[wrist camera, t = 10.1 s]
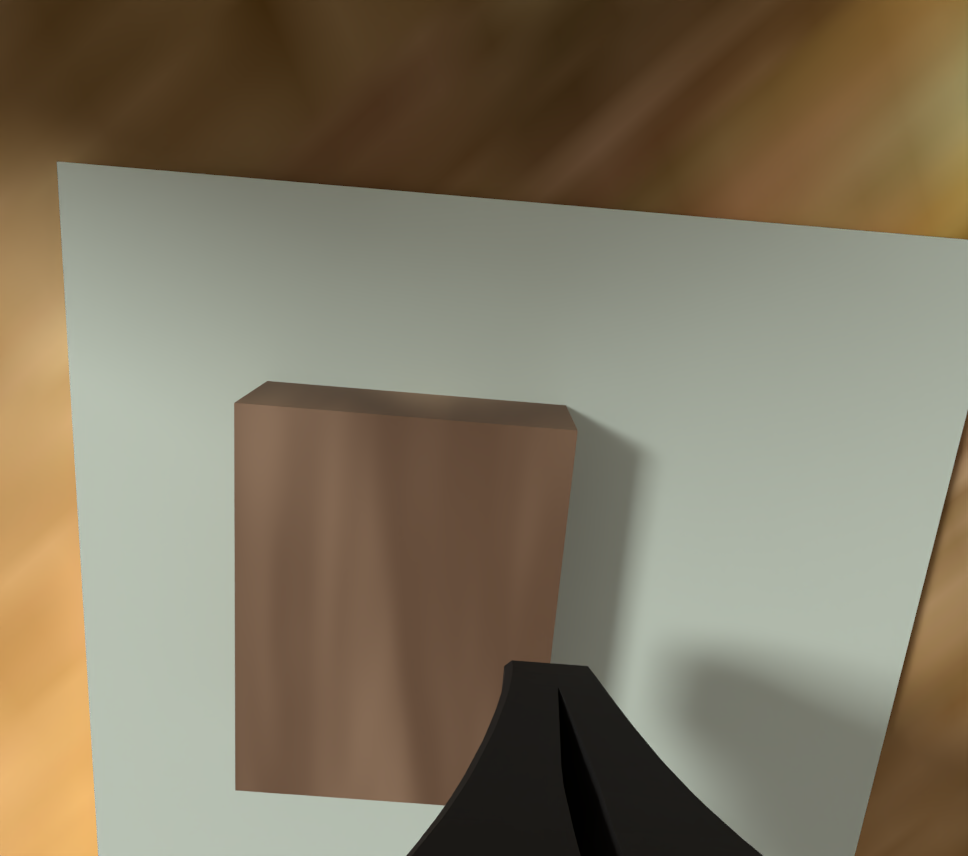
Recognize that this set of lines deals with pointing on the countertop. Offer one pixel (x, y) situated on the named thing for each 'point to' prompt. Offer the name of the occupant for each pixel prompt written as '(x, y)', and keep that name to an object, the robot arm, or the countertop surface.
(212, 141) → the countertop surface
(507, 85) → the countertop surface
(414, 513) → the walnut slab
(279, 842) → the mat
